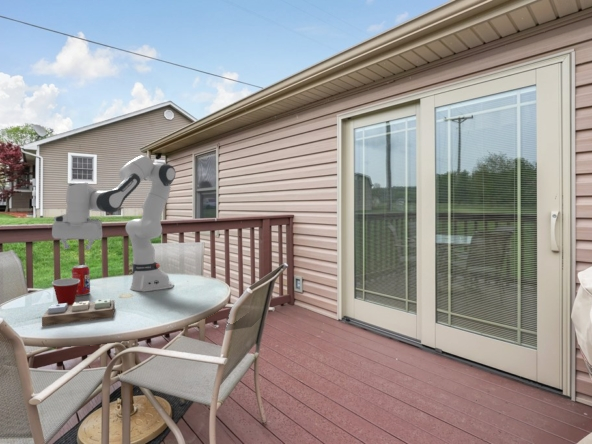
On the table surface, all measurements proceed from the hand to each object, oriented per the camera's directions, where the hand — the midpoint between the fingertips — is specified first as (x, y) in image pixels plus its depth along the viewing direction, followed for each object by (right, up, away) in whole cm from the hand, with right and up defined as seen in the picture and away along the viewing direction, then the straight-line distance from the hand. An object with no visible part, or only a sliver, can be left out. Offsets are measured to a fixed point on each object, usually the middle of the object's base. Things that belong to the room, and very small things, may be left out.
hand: (77, 249), depth 148 cm
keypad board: (+7, -28, -8) cm, 30 cm away
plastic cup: (-8, -27, +5) cm, 29 cm away
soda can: (-14, -26, +24) cm, 38 cm away
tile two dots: (+14, -25, -5) cm, 29 cm away
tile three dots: (+7, -25, -8) cm, 28 cm away
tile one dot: (0, -25, -12) cm, 28 cm away
